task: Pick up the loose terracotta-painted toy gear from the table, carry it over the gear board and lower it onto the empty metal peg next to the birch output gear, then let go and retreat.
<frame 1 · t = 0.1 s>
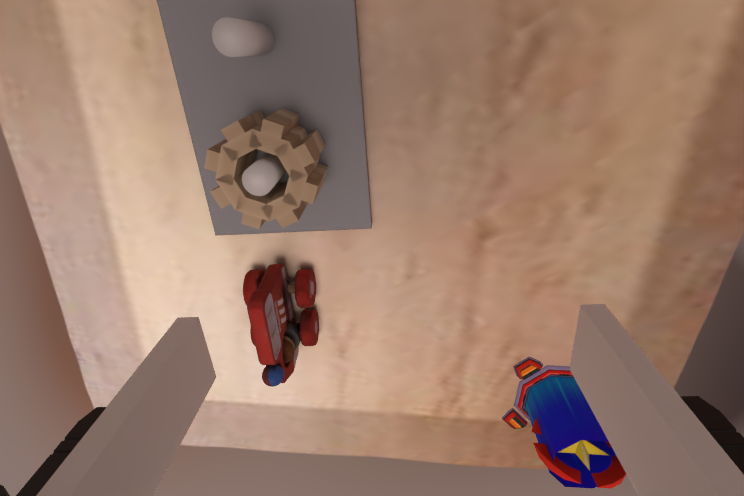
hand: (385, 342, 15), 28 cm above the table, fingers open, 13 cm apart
gear board: (273, 94, 38), on the table
fantasy tower: (554, 394, 52), on the table
toy fire truck: (288, 299, 48), on the table
output gear: (271, 167, 36), point 4 cm above the table, hinge at 0.0°
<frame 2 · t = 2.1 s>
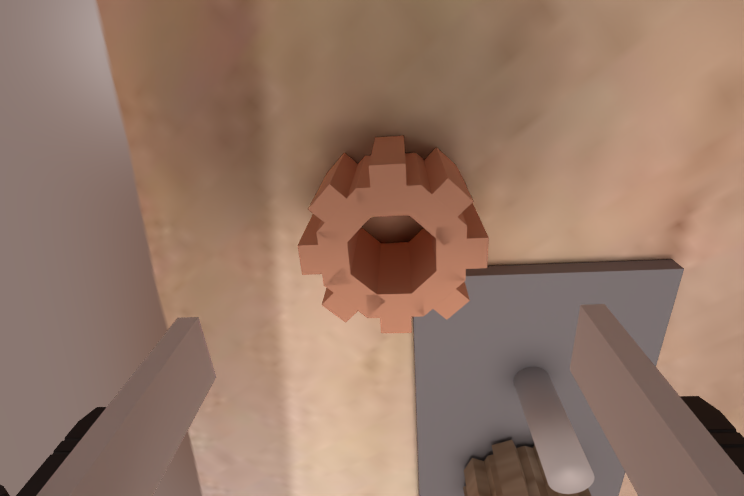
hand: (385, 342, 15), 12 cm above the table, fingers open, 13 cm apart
gear board: (521, 413, 32), on the table
loose gear: (393, 211, 26), on the table
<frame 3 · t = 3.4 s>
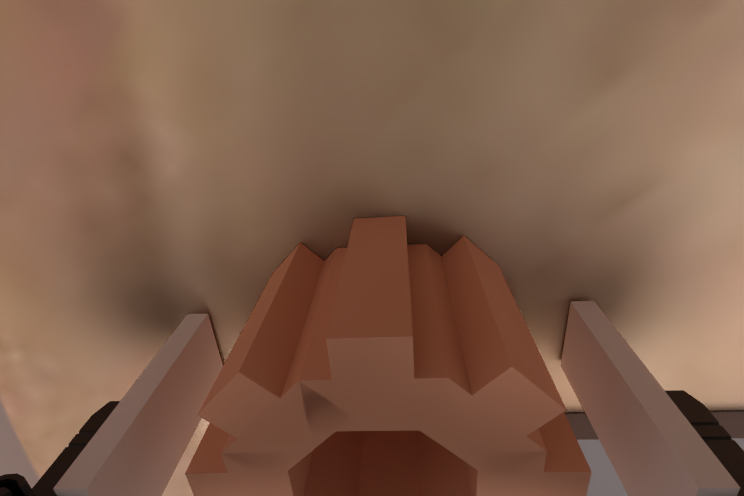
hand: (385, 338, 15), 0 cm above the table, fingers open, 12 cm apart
loose gear: (387, 334, 15), on the table
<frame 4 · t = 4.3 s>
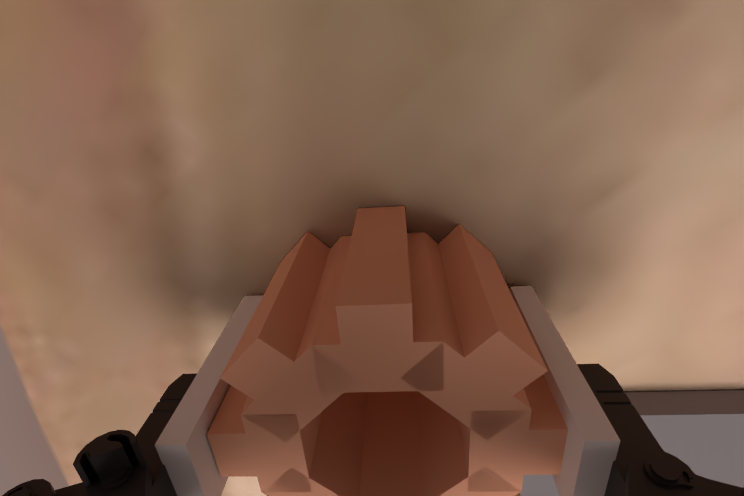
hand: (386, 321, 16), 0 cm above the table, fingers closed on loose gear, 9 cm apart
loose gear: (388, 317, 16), on the table, touching gripper
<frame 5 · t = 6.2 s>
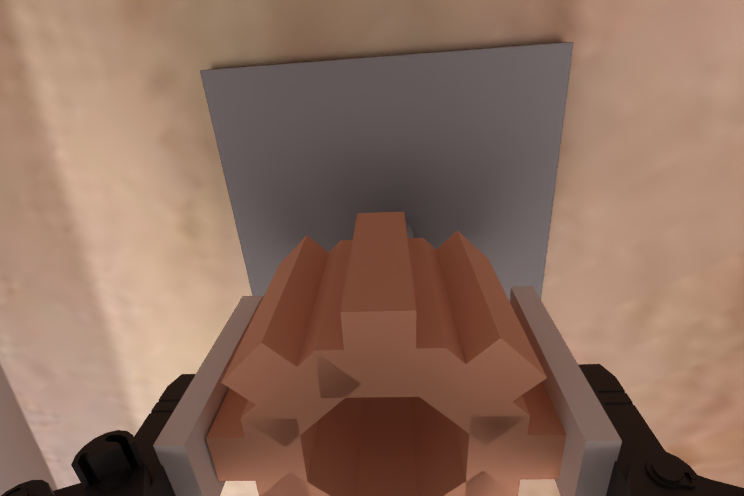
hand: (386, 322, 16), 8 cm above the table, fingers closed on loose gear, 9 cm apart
gear board: (394, 297, 25), on the table
loose gear: (384, 322, 16), point 8 cm above the table, touching gripper
when the fingers open (2 cm above the table, at t = 7.7 s): loose gear stays where it is, resting on gear board.
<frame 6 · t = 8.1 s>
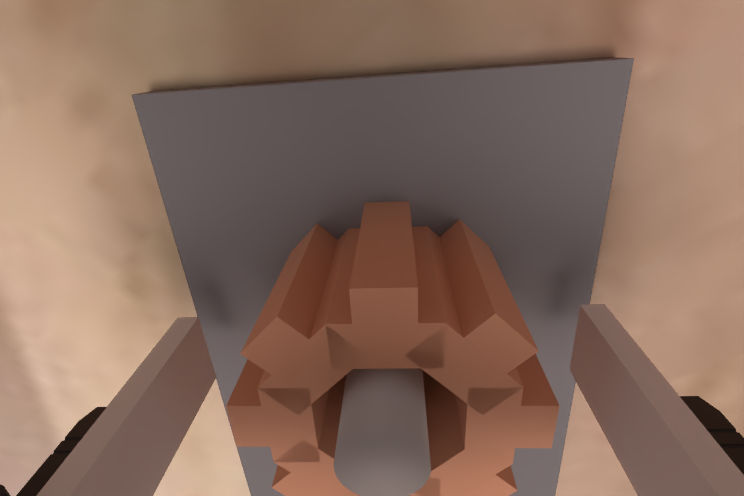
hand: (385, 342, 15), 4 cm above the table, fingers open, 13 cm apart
gear board: (392, 369, 20), on the table
loose gear: (390, 306, 17), point 1 cm above the table, touching gear board
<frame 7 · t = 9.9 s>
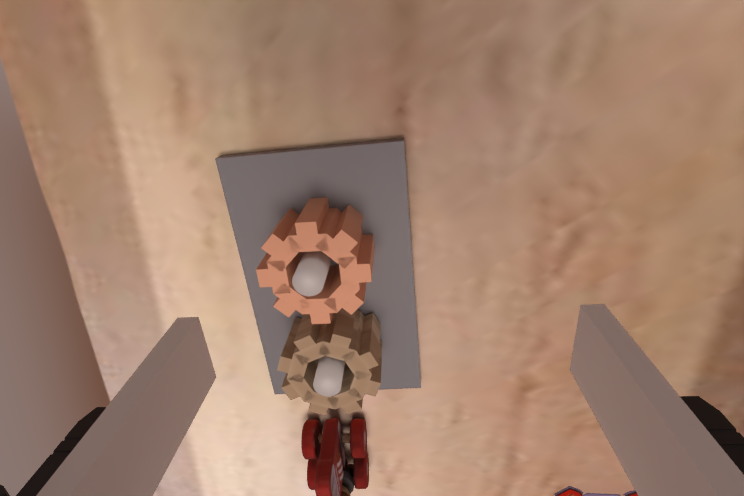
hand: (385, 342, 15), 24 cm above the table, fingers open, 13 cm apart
gear board: (331, 280, 41), on the table
toy fire truck: (339, 439, 51), on the table
loose gear: (325, 244, 38), point 1 cm above the table, touching gear board
output gear: (333, 354, 39), point 4 cm above the table, hinge at 0.0°
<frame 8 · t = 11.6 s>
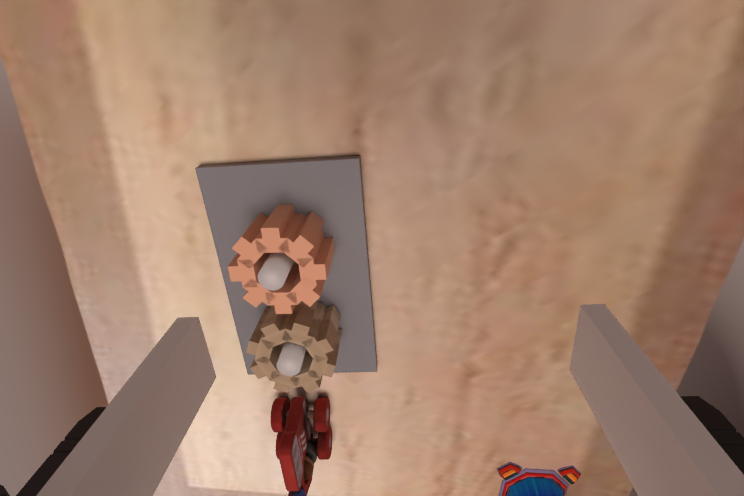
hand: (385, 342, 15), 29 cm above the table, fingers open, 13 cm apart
gear board: (298, 275, 47), on the table
fantasy tower: (532, 489, 61), on the table
toy fire truck: (306, 416, 57), on the table
loose gear: (291, 245, 44), point 1 cm above the table, touching gear board
output gear: (297, 340, 45), point 5 cm above the table, hinge at 0.0°
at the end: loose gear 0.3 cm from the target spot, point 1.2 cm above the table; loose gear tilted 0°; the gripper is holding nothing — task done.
